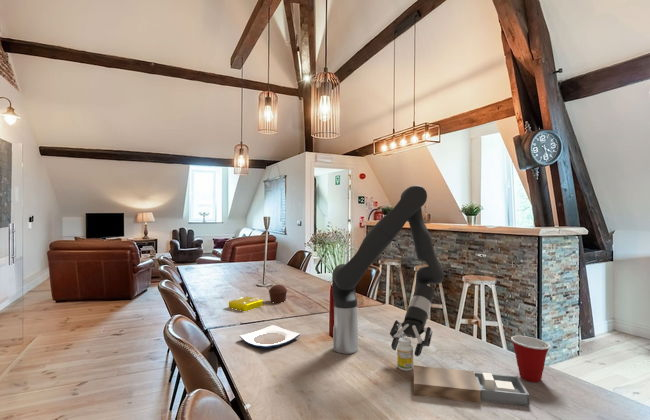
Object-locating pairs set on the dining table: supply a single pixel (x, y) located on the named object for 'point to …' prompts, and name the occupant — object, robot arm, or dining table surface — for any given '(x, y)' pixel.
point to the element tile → (245, 303)
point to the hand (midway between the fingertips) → (404, 352)
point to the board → (446, 384)
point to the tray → (503, 396)
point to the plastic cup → (530, 357)
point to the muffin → (277, 293)
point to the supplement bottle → (405, 354)
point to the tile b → (504, 386)
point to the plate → (271, 329)
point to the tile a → (488, 381)
